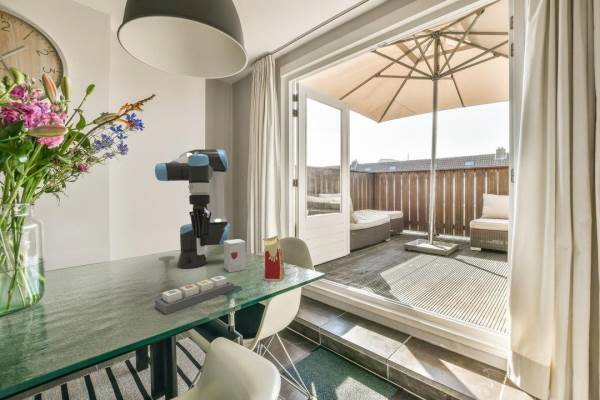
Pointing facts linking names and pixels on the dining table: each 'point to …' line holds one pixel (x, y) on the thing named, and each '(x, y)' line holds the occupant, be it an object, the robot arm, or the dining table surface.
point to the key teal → (172, 295)
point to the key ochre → (204, 285)
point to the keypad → (192, 299)
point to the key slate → (219, 281)
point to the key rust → (189, 290)
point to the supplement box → (234, 255)
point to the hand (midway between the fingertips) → (201, 254)
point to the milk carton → (273, 260)
